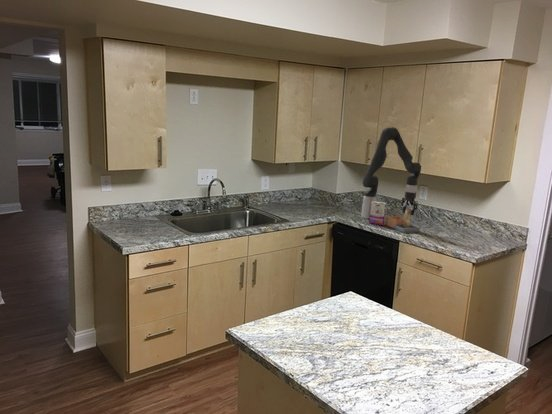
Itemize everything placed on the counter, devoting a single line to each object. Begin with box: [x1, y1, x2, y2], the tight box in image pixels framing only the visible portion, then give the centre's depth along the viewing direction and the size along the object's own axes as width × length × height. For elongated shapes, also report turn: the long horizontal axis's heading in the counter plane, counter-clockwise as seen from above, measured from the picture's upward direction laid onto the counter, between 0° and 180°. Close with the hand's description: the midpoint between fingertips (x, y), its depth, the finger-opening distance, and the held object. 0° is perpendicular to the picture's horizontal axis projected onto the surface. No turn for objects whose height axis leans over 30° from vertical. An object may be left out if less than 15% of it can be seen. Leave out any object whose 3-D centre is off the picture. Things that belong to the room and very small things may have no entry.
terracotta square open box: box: [386, 215, 405, 229], centre depth 332 cm, size 10×10×6 cm
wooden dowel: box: [404, 208, 412, 228], centre depth 322 cm, size 4×4×14 cm
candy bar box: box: [368, 200, 388, 226], centre depth 336 cm, size 11×5×16 cm, turn 62°
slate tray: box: [392, 223, 420, 234], centre depth 323 cm, size 11×14×3 cm
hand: (408, 213), depth 321 cm, fingers open, 8 cm apart
